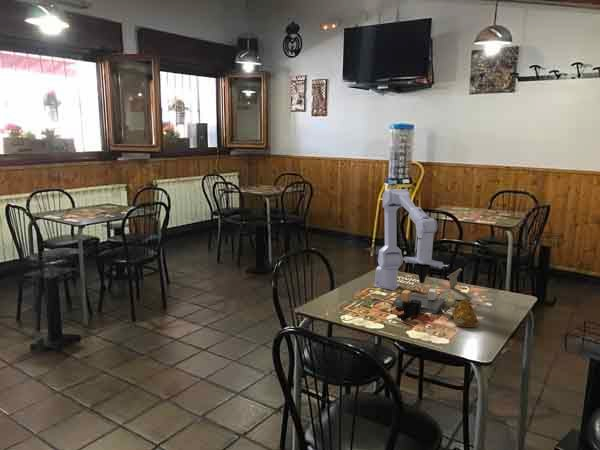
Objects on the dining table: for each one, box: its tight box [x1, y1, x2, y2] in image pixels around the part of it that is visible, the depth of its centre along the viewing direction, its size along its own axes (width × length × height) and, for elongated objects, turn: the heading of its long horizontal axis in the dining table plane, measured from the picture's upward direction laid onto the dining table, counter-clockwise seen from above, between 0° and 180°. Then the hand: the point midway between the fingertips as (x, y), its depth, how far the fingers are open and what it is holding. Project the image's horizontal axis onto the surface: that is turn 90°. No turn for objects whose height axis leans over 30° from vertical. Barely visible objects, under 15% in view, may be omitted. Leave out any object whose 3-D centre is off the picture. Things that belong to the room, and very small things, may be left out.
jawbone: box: [447, 267, 472, 301], centre depth 204 cm, size 14×8×15 cm
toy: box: [395, 300, 422, 321], centre depth 179 cm, size 15×5×7 cm, turn 141°
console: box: [392, 292, 446, 315], centre depth 193 cm, size 17×15×2 cm
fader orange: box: [400, 289, 412, 302], centre depth 191 cm, size 2×4×4 cm, turn 150°
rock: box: [452, 300, 479, 328], centre depth 174 cm, size 11×8×10 cm
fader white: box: [427, 288, 438, 300], centre depth 194 cm, size 2×4×4 cm, turn 150°
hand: (422, 282), depth 189 cm, fingers closed
